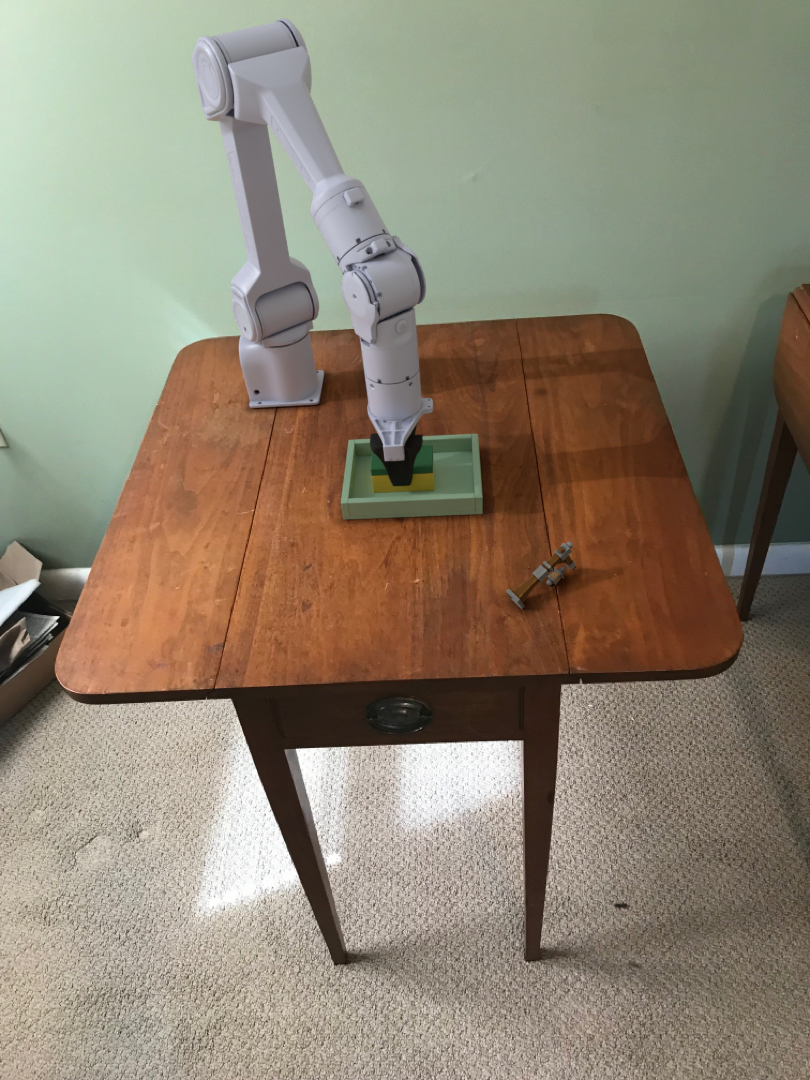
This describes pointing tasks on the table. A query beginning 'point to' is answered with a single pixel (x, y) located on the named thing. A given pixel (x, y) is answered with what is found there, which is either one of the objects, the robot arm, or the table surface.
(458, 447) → the pan
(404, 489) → the sponge
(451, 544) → the table surface
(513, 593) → the wooden post with brackets
